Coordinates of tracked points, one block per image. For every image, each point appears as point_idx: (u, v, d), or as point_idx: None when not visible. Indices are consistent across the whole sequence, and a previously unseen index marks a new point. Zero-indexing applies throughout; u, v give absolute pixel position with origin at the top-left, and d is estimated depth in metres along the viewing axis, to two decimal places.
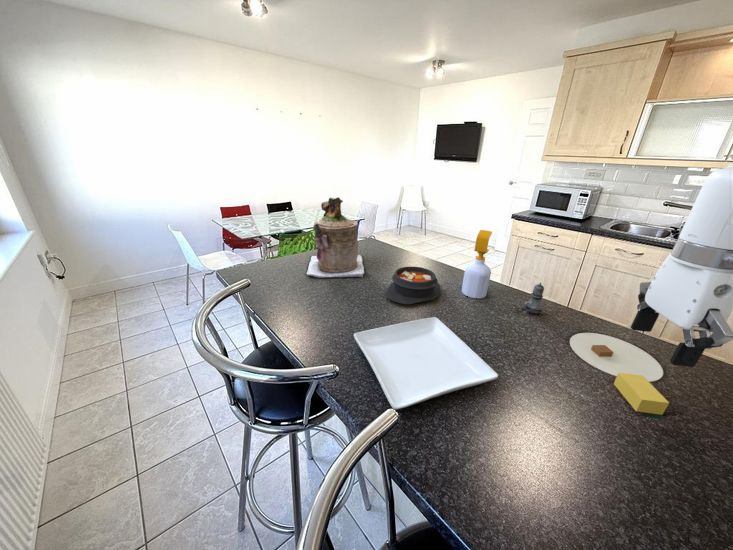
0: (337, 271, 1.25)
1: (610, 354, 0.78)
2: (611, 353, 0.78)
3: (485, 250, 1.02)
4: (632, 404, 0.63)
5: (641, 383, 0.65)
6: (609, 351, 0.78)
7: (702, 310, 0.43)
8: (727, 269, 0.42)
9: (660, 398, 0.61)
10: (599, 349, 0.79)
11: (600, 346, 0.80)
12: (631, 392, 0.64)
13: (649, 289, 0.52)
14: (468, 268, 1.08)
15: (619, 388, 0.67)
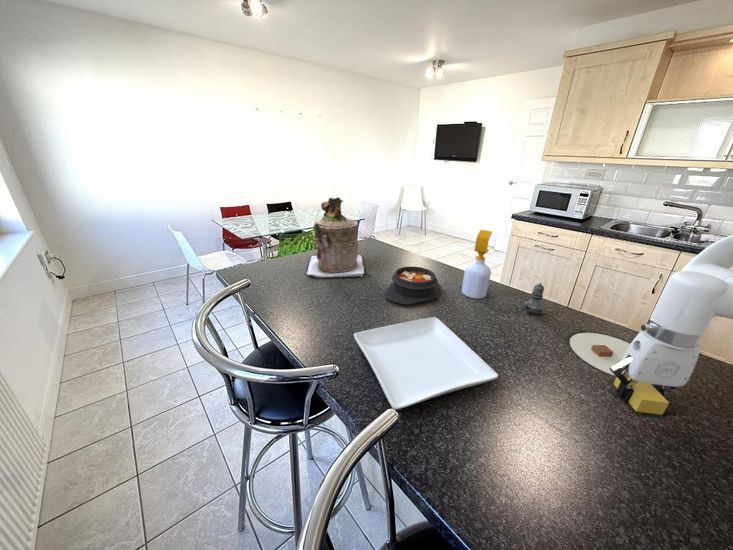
0: (337, 271, 1.25)
1: (610, 354, 0.78)
2: (611, 353, 0.78)
3: (485, 250, 1.02)
4: (632, 404, 0.63)
5: (641, 383, 0.65)
6: (609, 351, 0.78)
7: (626, 354, 0.63)
8: (649, 334, 0.59)
9: (660, 398, 0.61)
10: (599, 349, 0.79)
11: (600, 346, 0.80)
12: None
13: None
14: (468, 268, 1.08)
15: None
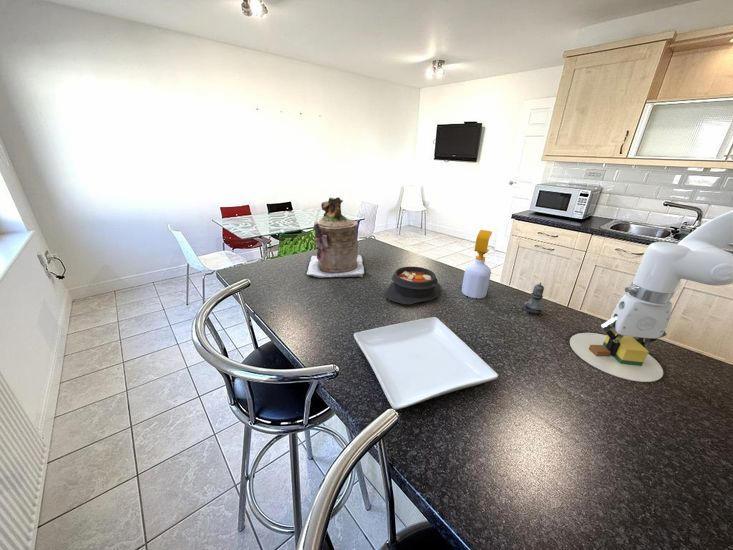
0: (337, 271, 1.25)
1: (607, 354, 0.78)
2: (608, 353, 0.78)
3: (485, 250, 1.02)
4: (619, 354, 0.76)
5: (626, 338, 0.78)
6: (606, 351, 0.78)
7: (613, 313, 0.76)
8: (631, 295, 0.72)
9: (642, 348, 0.74)
10: (596, 349, 0.79)
11: (598, 346, 0.80)
12: None
13: None
14: (468, 268, 1.08)
15: None
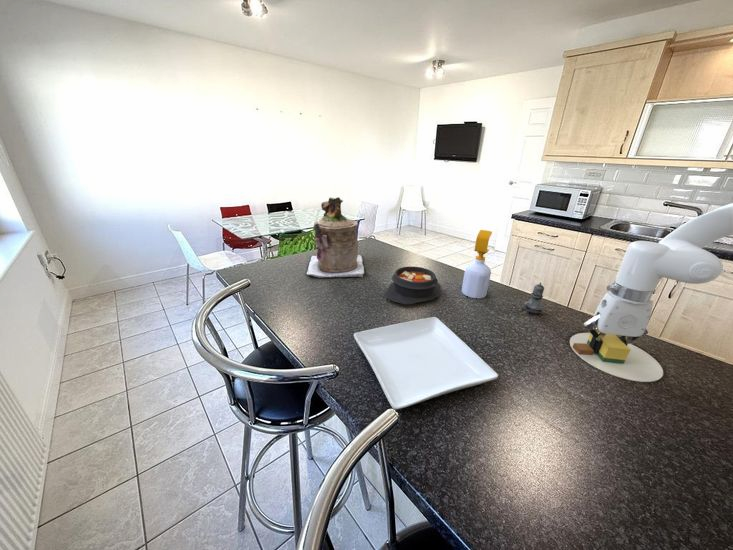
0: (337, 271, 1.25)
1: (590, 352, 0.79)
2: (591, 351, 0.78)
3: (485, 250, 1.02)
4: (601, 352, 0.77)
5: (609, 337, 0.78)
6: (589, 349, 0.78)
7: (596, 311, 0.77)
8: (613, 293, 0.73)
9: (623, 346, 0.75)
10: (579, 347, 0.79)
11: (581, 344, 0.80)
12: None
13: None
14: (468, 268, 1.08)
15: None
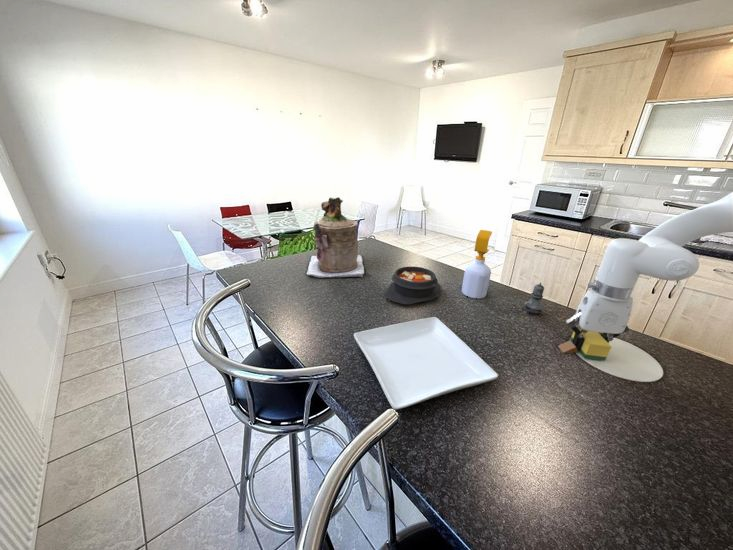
0: (337, 271, 1.25)
1: (575, 350, 0.79)
2: (575, 348, 0.79)
3: (485, 250, 1.02)
4: (583, 349, 0.77)
5: (592, 334, 0.79)
6: (572, 347, 0.79)
7: (578, 309, 0.77)
8: (594, 291, 0.73)
9: (605, 343, 0.75)
10: (562, 349, 0.80)
11: (564, 344, 0.81)
12: None
13: None
14: (468, 268, 1.08)
15: None
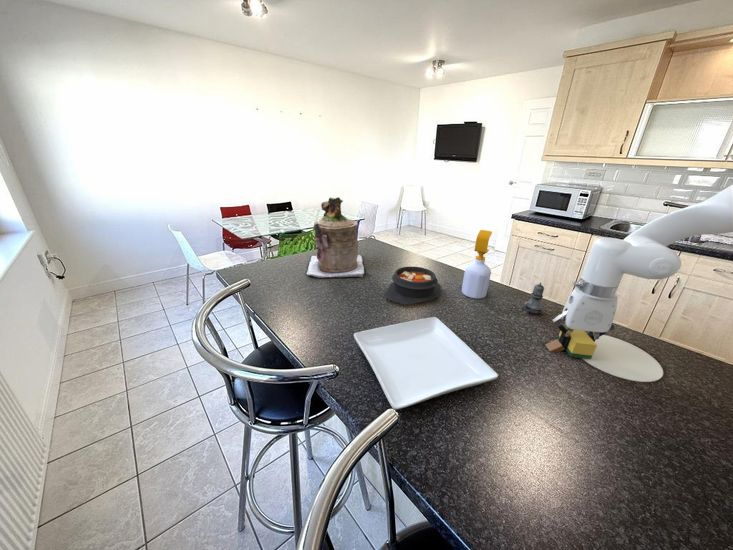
0: (337, 271, 1.25)
1: (561, 348, 0.79)
2: (561, 347, 0.79)
3: (485, 250, 1.02)
4: (569, 348, 0.78)
5: (578, 332, 0.79)
6: (558, 346, 0.79)
7: (564, 308, 0.78)
8: (579, 290, 0.74)
9: (590, 342, 0.76)
10: (549, 348, 0.81)
11: (551, 343, 0.82)
12: None
13: None
14: (468, 268, 1.08)
15: None
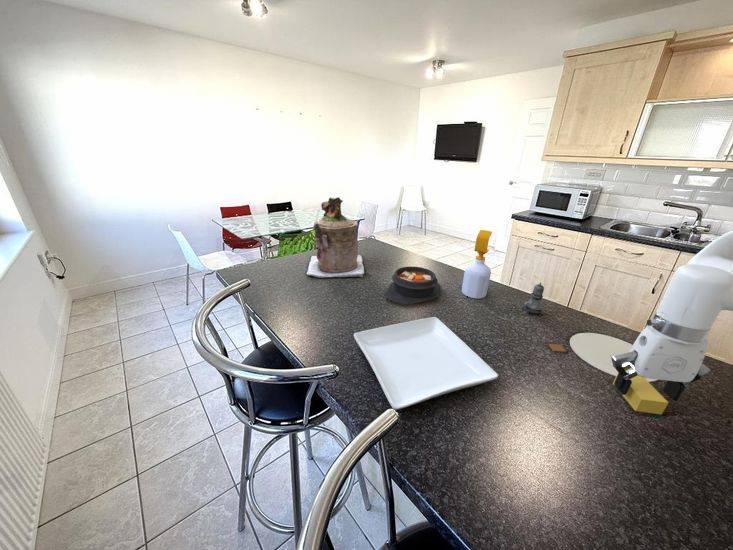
0: (337, 271, 1.25)
1: None
2: None
3: (485, 250, 1.02)
4: (631, 404, 0.63)
5: (640, 383, 0.65)
6: (562, 350, 0.80)
7: (632, 349, 0.62)
8: (655, 329, 0.58)
9: (659, 398, 0.61)
10: (553, 348, 0.81)
11: (555, 345, 0.82)
12: (631, 392, 0.64)
13: None
14: (468, 268, 1.08)
15: None
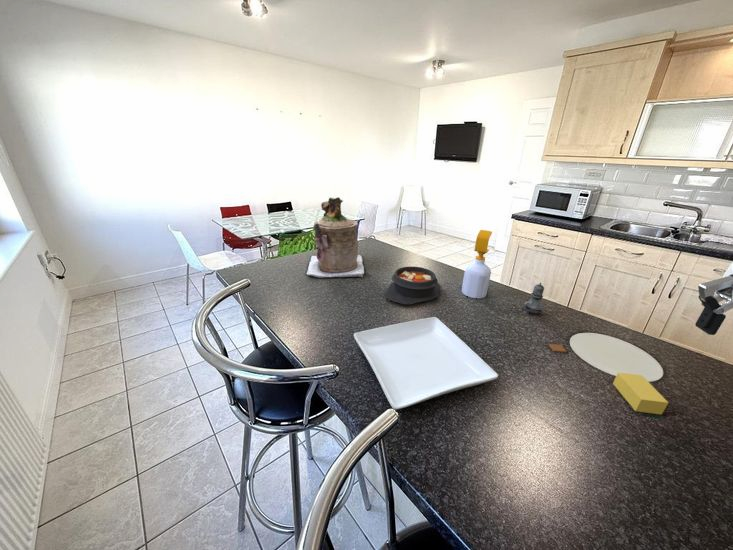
0: (337, 271, 1.25)
1: None
2: None
3: (485, 250, 1.02)
4: (631, 404, 0.63)
5: (640, 383, 0.65)
6: (562, 350, 0.80)
7: (726, 274, 0.48)
8: None
9: (659, 398, 0.61)
10: (553, 348, 0.81)
11: (555, 345, 0.82)
12: (631, 392, 0.64)
13: None
14: (468, 268, 1.08)
15: (618, 388, 0.67)
